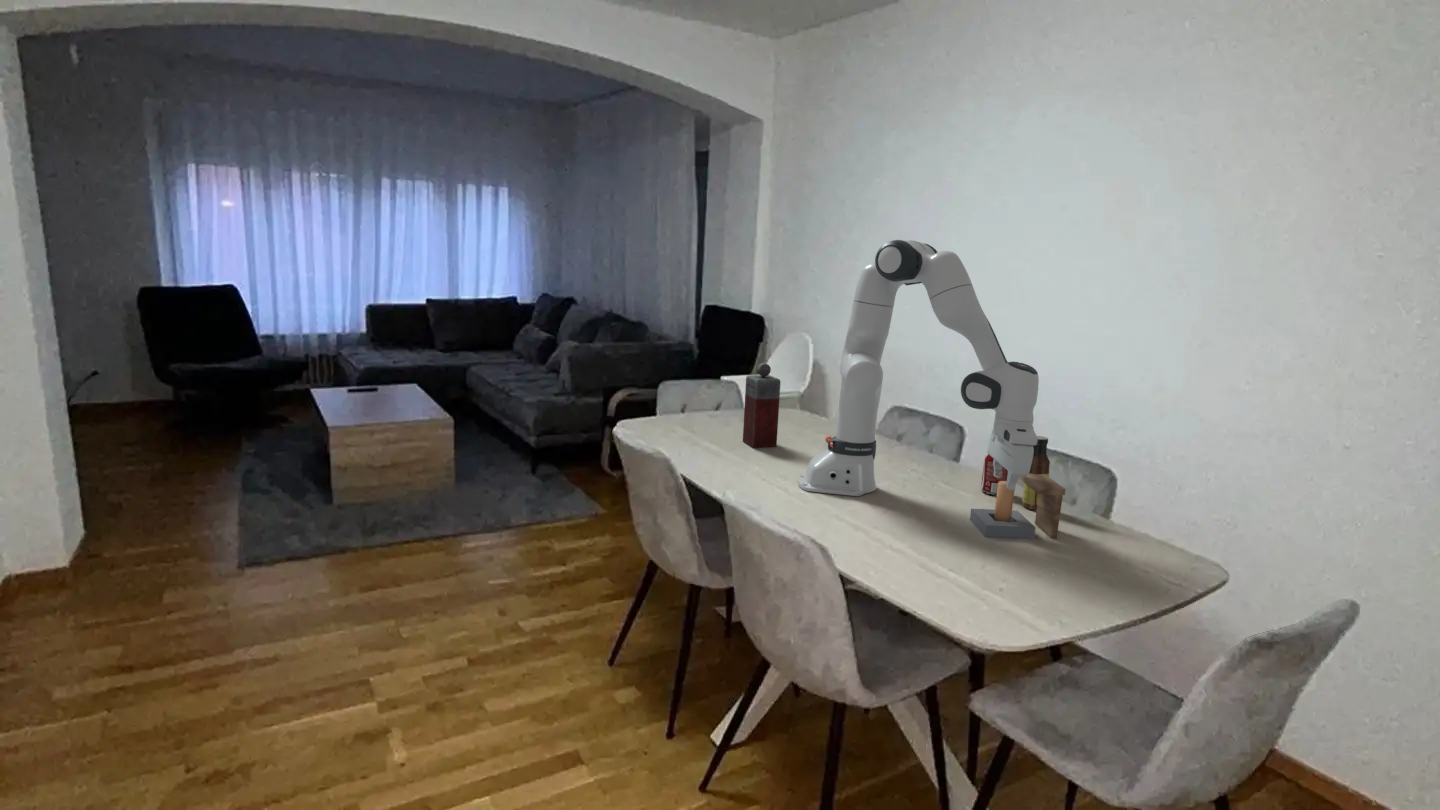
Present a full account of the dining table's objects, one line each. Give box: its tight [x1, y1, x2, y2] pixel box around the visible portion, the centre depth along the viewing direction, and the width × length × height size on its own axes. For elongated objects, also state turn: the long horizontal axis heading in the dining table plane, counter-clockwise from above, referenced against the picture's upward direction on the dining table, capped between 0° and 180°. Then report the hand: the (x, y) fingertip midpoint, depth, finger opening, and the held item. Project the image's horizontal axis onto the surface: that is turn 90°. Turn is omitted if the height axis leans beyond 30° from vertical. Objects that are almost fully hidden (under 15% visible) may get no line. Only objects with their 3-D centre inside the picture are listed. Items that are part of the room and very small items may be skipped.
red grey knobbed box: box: [742, 362, 782, 449], centre depth 268 cm, size 9×11×28 cm
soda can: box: [980, 451, 1009, 496], centre depth 227 cm, size 7×7×12 cm
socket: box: [969, 508, 1036, 540], centre depth 198 cm, size 12×12×3 cm
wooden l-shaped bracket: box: [1019, 474, 1066, 539], centre depth 197 cm, size 6×12×13 cm, turn 0°
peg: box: [994, 480, 1016, 522], centre depth 197 cm, size 4×4×12 cm
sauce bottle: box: [1021, 435, 1051, 511], centre depth 214 cm, size 7×6×20 cm
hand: (1003, 483), depth 196 cm, fingers open, 8 cm apart
